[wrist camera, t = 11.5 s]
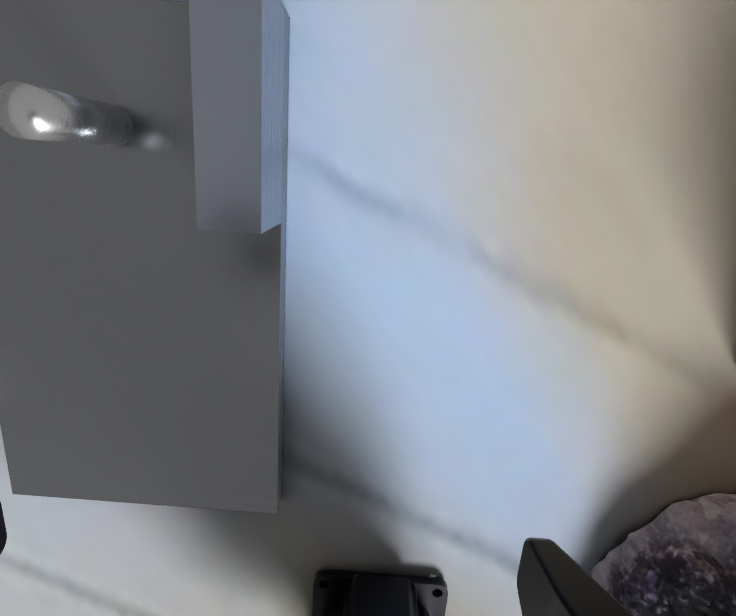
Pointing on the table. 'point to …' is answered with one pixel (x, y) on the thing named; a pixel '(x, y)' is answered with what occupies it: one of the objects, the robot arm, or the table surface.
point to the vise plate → (144, 250)
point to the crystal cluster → (677, 562)
